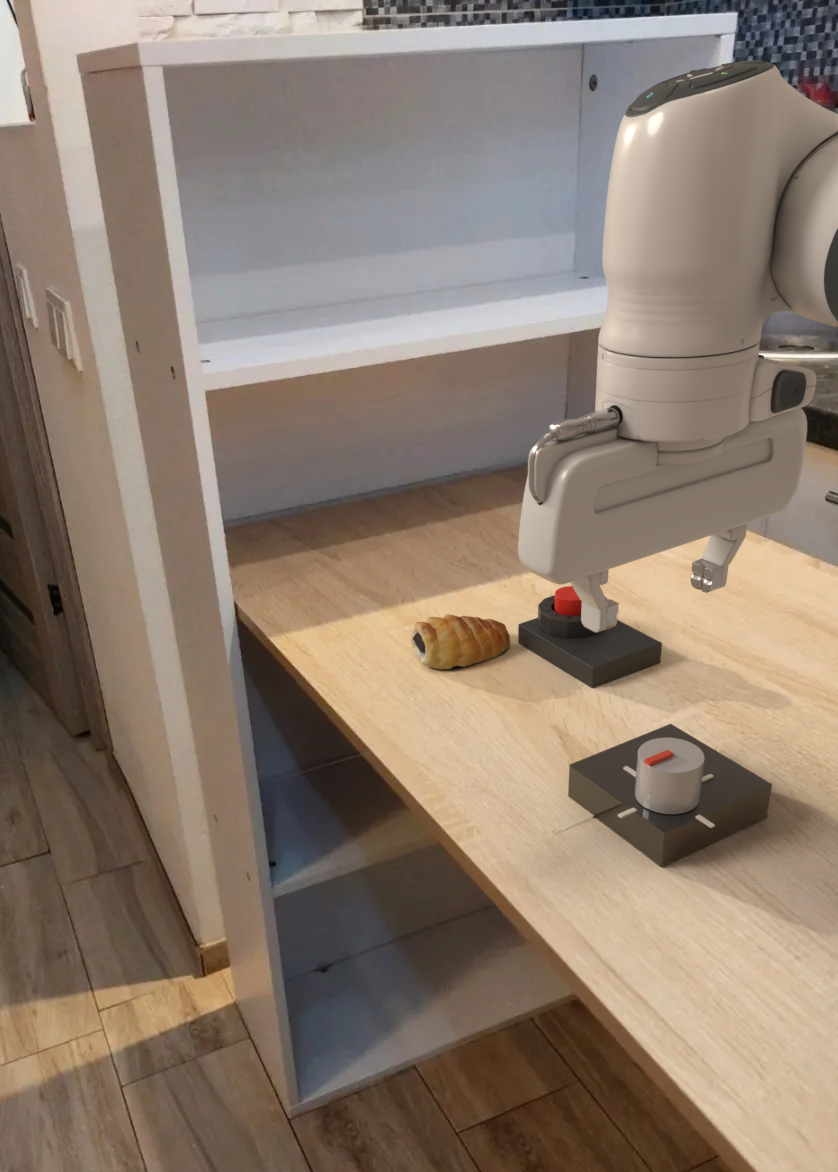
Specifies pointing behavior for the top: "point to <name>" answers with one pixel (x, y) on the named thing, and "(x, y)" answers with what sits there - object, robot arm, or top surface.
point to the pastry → (458, 641)
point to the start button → (567, 601)
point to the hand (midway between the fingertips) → (654, 606)
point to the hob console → (666, 838)
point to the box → (587, 646)
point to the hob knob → (669, 775)
